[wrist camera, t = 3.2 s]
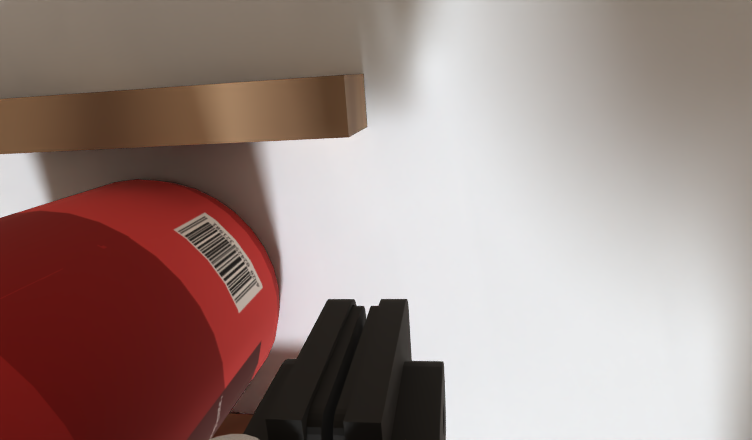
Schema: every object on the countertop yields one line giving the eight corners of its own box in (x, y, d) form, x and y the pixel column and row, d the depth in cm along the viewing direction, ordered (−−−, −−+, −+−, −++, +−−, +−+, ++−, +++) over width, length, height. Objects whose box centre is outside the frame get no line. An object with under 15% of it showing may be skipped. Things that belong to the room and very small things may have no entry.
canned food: (78, 146, 17) (-509, 261, 7) (309, 212, 17) (42, 451, 6) (65, 345, 20) (-389, 655, 9) (267, 411, 19) (21, 827, 9)
